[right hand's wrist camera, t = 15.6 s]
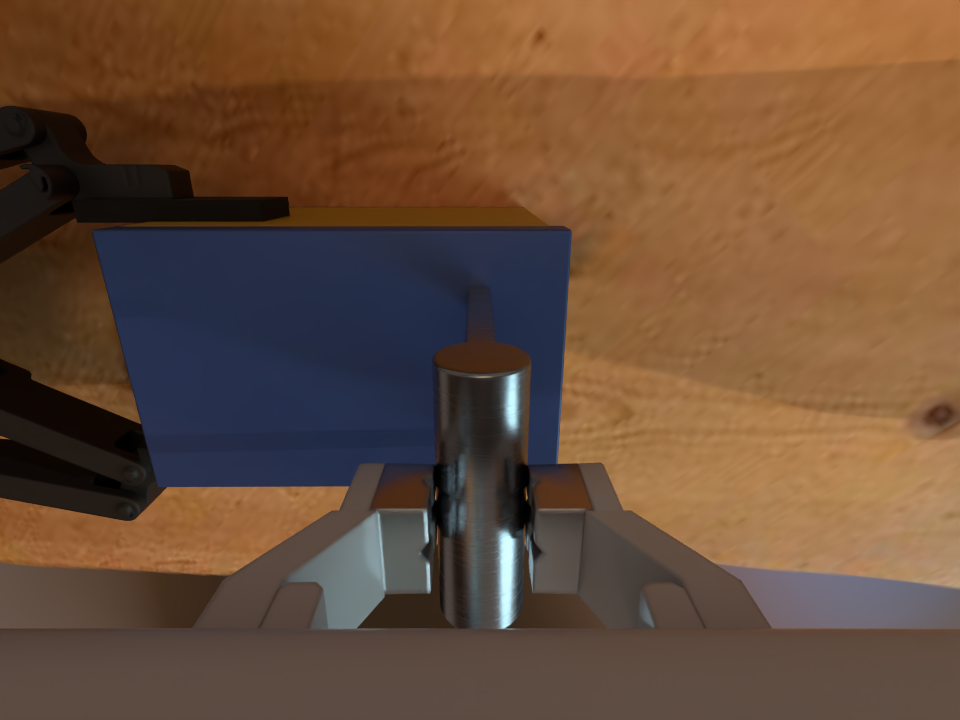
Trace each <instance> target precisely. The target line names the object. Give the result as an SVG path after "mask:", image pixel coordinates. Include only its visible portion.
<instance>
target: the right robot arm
mask: <svg viewBox="0 0 960 720" xmlns="http://www.w3.org/2000/svg"><path fill="white" fill-rule="evenodd" d="M526 488H527V496H528V499H527V500H526V507H525V536H526V546H527V550H528V551H529V570H530V578H531V585H532V592H533V593H554V594H555V593H556V594H578V596H579V598H580V599H581V600H582V601H583V602H584V603H585V604H586V606H587V607H588V608H589V609H590V610H591V611H592V612H593V613H594V614H595V616H596V617H597V618H598V619H599V620H600V621H601V622H602V624H603V625H604V626H605V627H606V628H607V629H356V628H357V627H358V626H359V625H360V624H361V623H362V622H363V620H364V619H365V618H366V617H367V616H368V615H369V614H370V613H371V611H372V610H373V609H374V608H375V607H376V606H377V605H378V603H379V602H380V601H381V600H382V599H383V598H384V594H408V593H430V591H431V583H432V575H433V568H434V561H433V552H434V551H435V550H436V541H437V525H438V523H437V501H436V500H435V492H436V467H435V464H401V463H387V464H385V463H362V464H360V465H359V466H358V468H357V470H356V473H355V475H354V477H353V480H352V482H351V484H350V487H349V489H348V491H347V494H346V496H345V499H344V501H343V503H342V506H341V508H340V510H339V511H331V512H329V513H328V514H326V515H324V516H323V517H321V518H320V519H318V520H317V521H315V522H313V523H312V524H310V525H309V526H307V527H306V528H304V529H302V530H301V531H299V532H298V533H296V534H295V535H293V536H291V537H290V538H288V539H287V540H285V541H284V542H282V543H280V544H279V545H277V546H276V547H274V548H273V549H271V550H269V551H268V552H266V553H265V554H263V555H262V556H260V557H259V558H257V559H255V560H254V561H252V562H251V563H249V564H248V565H246V566H244V567H243V568H241V569H240V570H238V571H237V572H235V573H233V574H232V575H230V576H229V577H227V578H226V579H224V580H223V581H222V583H221V584H220V586H219V587H218V589H217V591H216V592H215V594H214V595H213V597H212V598H211V600H210V602H209V603H208V605H207V606H206V608H205V609H204V611H203V612H202V614H201V616H200V617H199V619H198V620H197V622H196V623H195V625H194V626H193V628H192V629H0V720H960V629H772V628H771V626H770V625H769V623H768V622H767V620H766V618H765V617H764V615H763V614H762V612H761V611H760V609H759V608H758V606H757V604H756V603H755V601H754V600H753V598H752V597H751V595H750V594H749V592H748V590H747V589H746V587H745V586H744V584H743V583H742V581H741V580H739V579H738V578H736V577H735V576H733V575H731V574H730V573H728V572H727V571H725V570H724V569H722V568H720V567H719V566H717V565H716V564H714V563H713V562H711V561H709V560H708V559H706V558H705V557H703V556H702V555H700V554H698V553H697V552H695V551H694V550H692V549H691V548H689V547H687V546H686V545H684V544H683V543H681V542H680V541H678V540H676V539H675V538H673V537H672V536H670V535H668V534H667V533H665V532H664V531H662V530H661V529H659V528H657V527H656V526H654V525H653V524H651V523H650V522H648V521H646V520H645V519H643V518H642V517H640V516H639V515H637V514H635V513H634V512H632V511H624V510H623V508H622V506H621V504H620V501H619V499H618V497H617V494H616V492H615V490H614V488H613V485H612V483H611V481H610V478H609V476H608V474H607V472H606V469H605V467H604V465H603V464H602V463H579V464H539V465H527V480H526Z"/></svg>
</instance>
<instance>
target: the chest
mask: <svg viewBox="0 0 960 720" xmlns="http://www.w3.org/2000/svg"><path fill="white" fill-rule="evenodd" d="M289 211H290V216H287V217H282V218H278V219H273V220H269V221H264V222H144V223H137V224H130V225H123V226H549V225H547V224H546V223H544V222H543V221H542V220H540V219H539V218H538V217H536V216H535V215H533V214H532V213H531V212H529V211H528V210H527V209H525V208H524V207H289Z"/></svg>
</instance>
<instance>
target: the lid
mask: <svg viewBox="0 0 960 720" xmlns="http://www.w3.org/2000/svg"><path fill="white" fill-rule="evenodd" d="M92 234H93V238H94V242H95V246H96V250H97V254H98V258H99V262H100V265H101V269H102V273H103V277H104V281H105V285H106V289H107V293H108V297H109V300H110V304H111V308H112V312H113V316H114V320H115V324H116V328H117V331H118V335H119V339H120V343H121V347H122V351H123V355H124V359H125V362H126V366H127V370H128V374H129V378H130V382H131V386H132V390H133V393H134V397H135V401H136V405H137V409H138V413H139V417H140V421H141V425H142V428H143V432H144V436H145V440H146V444H147V448H148V452H149V456H150V459H151V463H152V467H153V471H154V475H155V479H156V483H157V486H158V487H282V486H350V484H351V482H352V480H353V477H354V475H355V473H356V470H357V468H358V466H359V465H360V464H362V463H385V464H387V463H401V464H435V467H436V500H437V523H438V525H437V529H438V557H439V585H440V606H441V610H442V612H443V614H444V616H445V618H446V619H447V620H448V621H449V622H450V624H452V625H453V626H454V627H455V628H457V629H505V628H507V627H508V626H510V625H511V624H512V623H513V622H514V621H515V619H516V618H517V617H518V615H519V613H520V611H521V607H522V595H523V568H524V541H525V507H526V480H527V465H539V464H558V448H559V432H560V416H561V399H562V383H563V366H564V350H565V333H566V317H567V301H568V284H569V268H570V251H571V235H572V232H571V230H570V229H568V228H567V227H565V226H116V227H109V228H102V229H95V230H93V231H92Z"/></svg>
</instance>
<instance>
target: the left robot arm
mask: <svg viewBox="0 0 960 720" xmlns="http://www.w3.org/2000/svg"><path fill="white" fill-rule="evenodd" d="M86 139H87V133H86V129H85V127H84V125H83V124H82V122H81V121H80V120H79V119H77V118H76V117H75V116H72V115H69V114H64V113H57V112H50V111H43V110H37V109H30V108H23V107H16V106H5V107H2V108H0V169H4V168H8V167H11V166H15V165H19V164H22V163H26V162H30V161H31V162H32V164H24V165H21V166H20V167H21V169H30V172H28V173H27V174H25V175H24V176H22V177H21V178H19V179H18V180H16V181H14V182H13V183H11V184H10V185H8V186H7V187H5V188H3V189H2V190H0V263H2V262H4V261H5V260H7V259H9V258H10V257H12V256H13V255H15V254H17V253H18V252H20V251H22V250H23V249H25V248H27V247H28V246H30V245H32V244H33V243H35V242H36V241H38V240H40V239H41V238H43V237H45V236H46V235H48V234H50V233H51V232H53V231H54V230H56V229H58V228H59V227H61V226H63V225H64V224H66V223H68V222H69V221H71V220H72V219H74V218H76V219H77V223H144V222H264V221H269V220H273V219H278V218H282V217H287V216H290V211H289V203H288V197H194V196H193V190H192V185H191V179H190V174H189V171H188V170H185V169H183V168H180V167H178V166H175V165H107V164H105V163H102V162H100V161H99V160H97V159H96V158H95V157H94V156H93V155H92V154H91V152H90V151H89V149H88V148H87V146H86V144H85V142H86ZM0 436H3V437H6V438H8V439H0V498H5V499H10V500H16V501H21V502H26V503H32V504H37V505H43V506H48V507H54V508H59V509H64V510H70V511H75V512H81V513H86V514H92V515H97V516H103V517H108V518H113V519H119V520H124V521H131V520H134V519H136V518H137V517H138V516H139V515H140V514H141V513H142V512H143V511H144V510H145V509H146V508H147V507H148V506H149V505H150V504H151V503H152V502H153V501H154V500H155V499H156V498H157V497H158V496H159V495H160V494H161V493H162V492H163V491H164V490H165V489H166V488H167V487H158V486H157V483H156V479H155V475H154V471H153V467H152V463H151V459H150V456H149V452H148V448H147V444H146V440H145V436H144V432H143V428H142V425H141V424H139V423H136V422H134V421H131V420H129V419H127V418H124V417H122V416H119V415H117V414H114V413H112V412H109V411H107V410H104V409H102V408H99V407H97V406H95V405H92V404H90V403H87V402H85V401H82V400H80V399H77V398H75V397H72V396H70V395H68V394H65V393H63V392H60V391H58V390H55V389H53V388H50V387H48V386H45V385H43V384H40V383H38V382H36V381H33V380H32V379H31V373H30V372H29V371H28V370H26V369H23V368H21V367H18V366H16V365H13V364H11V363H9V362H6V361H4V360H1V359H0ZM9 439H11V440H9Z"/></svg>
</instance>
